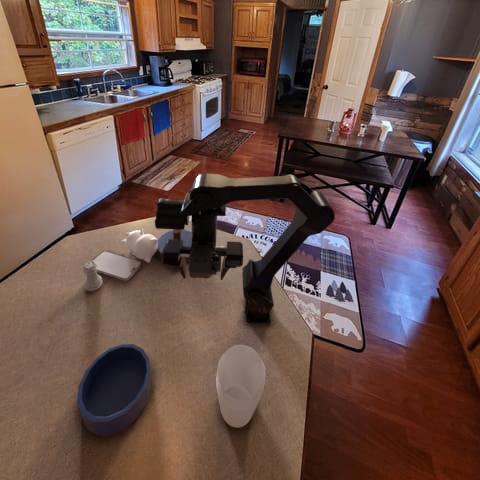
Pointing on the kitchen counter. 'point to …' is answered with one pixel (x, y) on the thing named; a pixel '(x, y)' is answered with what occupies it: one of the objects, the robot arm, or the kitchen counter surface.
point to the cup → (239, 384)
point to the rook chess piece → (92, 277)
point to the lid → (175, 234)
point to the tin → (115, 389)
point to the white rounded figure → (141, 244)
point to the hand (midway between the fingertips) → (203, 278)
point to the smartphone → (116, 265)
